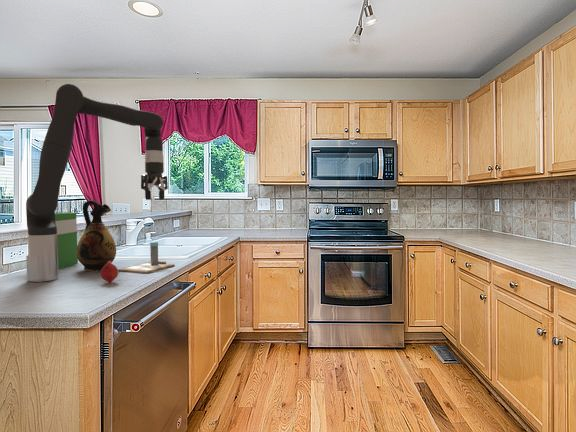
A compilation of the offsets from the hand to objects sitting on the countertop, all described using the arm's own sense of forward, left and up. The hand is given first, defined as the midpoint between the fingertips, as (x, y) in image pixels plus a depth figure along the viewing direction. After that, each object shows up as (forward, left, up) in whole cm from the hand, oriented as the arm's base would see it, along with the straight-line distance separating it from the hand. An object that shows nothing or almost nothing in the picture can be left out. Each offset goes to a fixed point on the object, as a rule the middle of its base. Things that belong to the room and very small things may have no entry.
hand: (155, 199), depth 165 cm
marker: (+4, +4, -29) cm, 30 cm away
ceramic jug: (-10, +24, -30) cm, 40 cm away
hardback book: (-11, +45, -30) cm, 56 cm away
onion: (-28, -2, -30) cm, 41 cm away
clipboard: (-1, +4, -30) cm, 30 cm away
